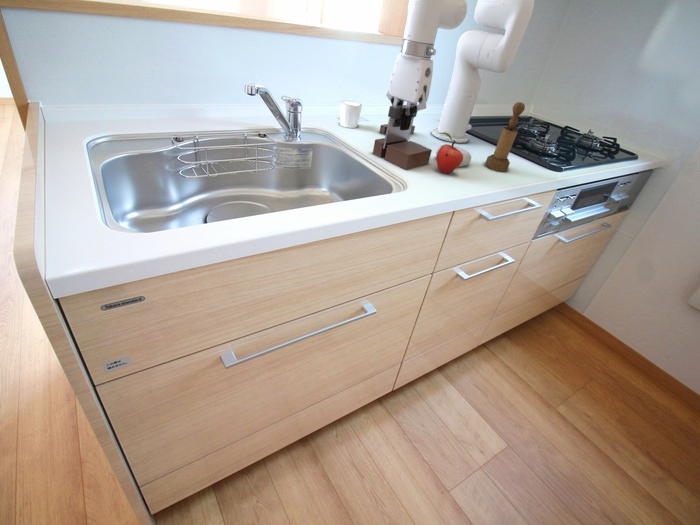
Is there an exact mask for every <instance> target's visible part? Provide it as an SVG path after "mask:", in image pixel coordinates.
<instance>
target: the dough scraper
mask: <svg viewBox="0 0 700 525" xmlns="http://www.w3.org/2000/svg"><path fill="white" fill-rule="evenodd" d="M406 105H407V104H403V105H398V106H392V105H389V108H388V114H387V117H388V122H387V124H388V126H387V131H386V134H385V136H384V138H385V141H384V146H383V148H384V149H386V148H387V145H391V144H396V143H402V142H407V141H410V140H409V139H410V135H411V134H410V132H411V128H412V125H413V123H414V120H415V118H416V117H417V115H418V111H417V112H416V113H415V114H414V115H412V120H411V124H410V127H409V129H408V130H403V131H402V130H400V126H401V121H402V117H403V114H405V111H406ZM411 107H412V106H411Z"/></svg>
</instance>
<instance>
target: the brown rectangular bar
mask: <svg viewBox="0 0 700 525" xmlns="http://www.w3.org/2000/svg"><path fill="white" fill-rule="evenodd" d="M384 141H385V137H382V138H376V139H374V142H373V143H374V144H373V149H372V155H374V156H377V157H379V158H385V155H386V150H387V148H386V149H384V148H383V146H384Z"/></svg>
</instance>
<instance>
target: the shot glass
mask: <svg viewBox="0 0 700 525" xmlns="http://www.w3.org/2000/svg"><path fill="white" fill-rule="evenodd" d="M362 108H363V105H362V103H360V102H358V101H353V100H342V101H340V119H339V120H340V122H339V124H340V126H342V127H344V128H347V129H356V128H357V127H358V124H359V120H360V116H361V111H362Z"/></svg>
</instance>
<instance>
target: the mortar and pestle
mask: <svg viewBox="0 0 700 525" xmlns="http://www.w3.org/2000/svg"><path fill="white" fill-rule="evenodd" d="M525 110H526V106H525V104H524V102H521V101H518V102H515V103H514V104H513V106H512V116H511V118H510V119H509V121H508V126H503V128H502V131H501V133H500V135H499V138H498V141H497V144H496V146H495V149H494V152H493V154H490V155H488V156H487V158H486V160H485V163H484V165H485V167H487V168H488V169H490V170H493V171H496V172H507V171H508V169H509V166H510V164H511V162H510V160H509V154H510V152H511V149H512V147H513V144H514V142H515V139H516V138H517V135H518V133H519V130H518V129H516V126H517V125H518V123H519V117H520V116H521V115H522V113H524V111H525Z"/></svg>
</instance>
